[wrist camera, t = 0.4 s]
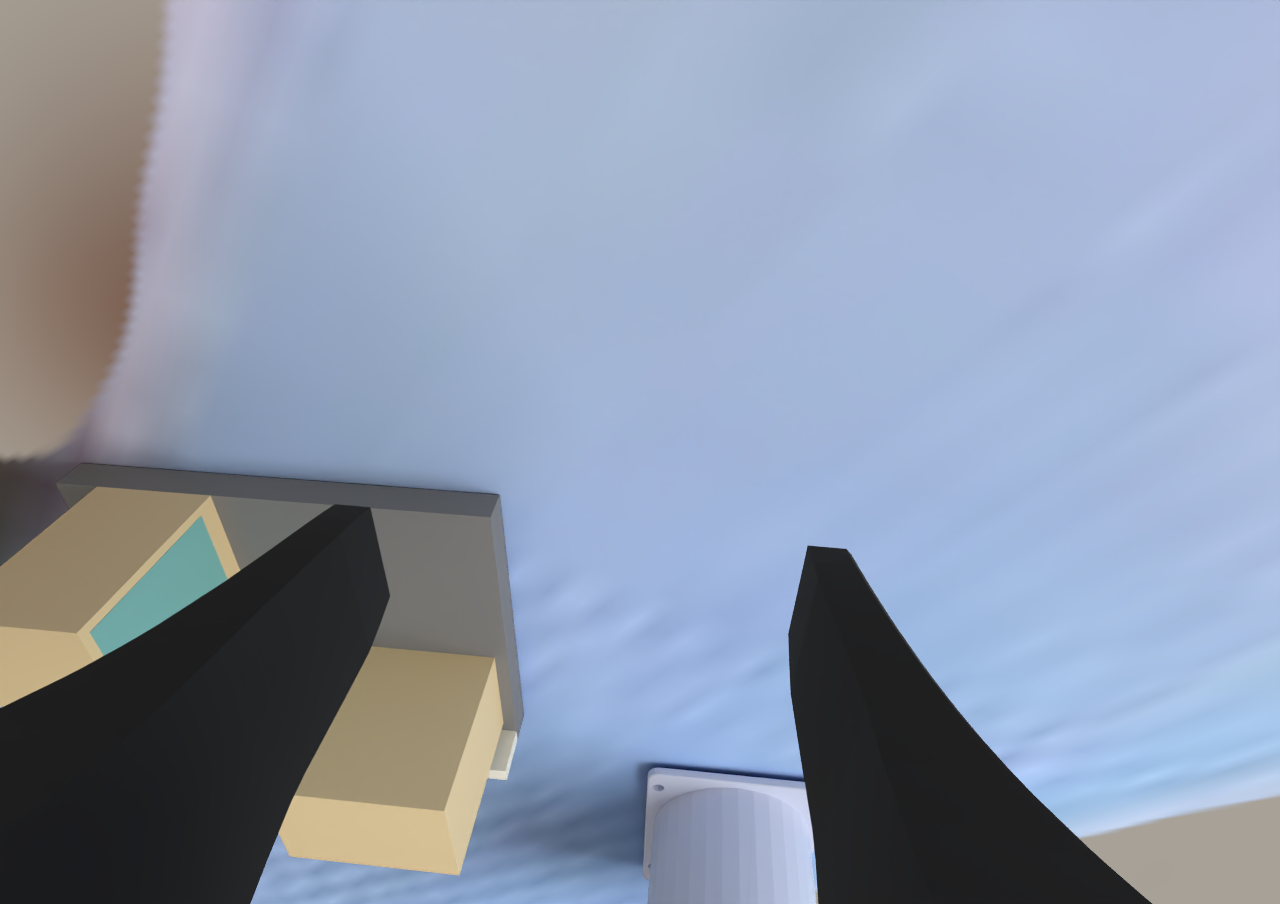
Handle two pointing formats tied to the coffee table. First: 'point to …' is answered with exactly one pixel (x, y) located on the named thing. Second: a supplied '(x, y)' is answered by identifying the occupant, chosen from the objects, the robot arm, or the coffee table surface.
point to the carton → (104, 580)
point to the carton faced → (401, 764)
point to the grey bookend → (410, 549)
